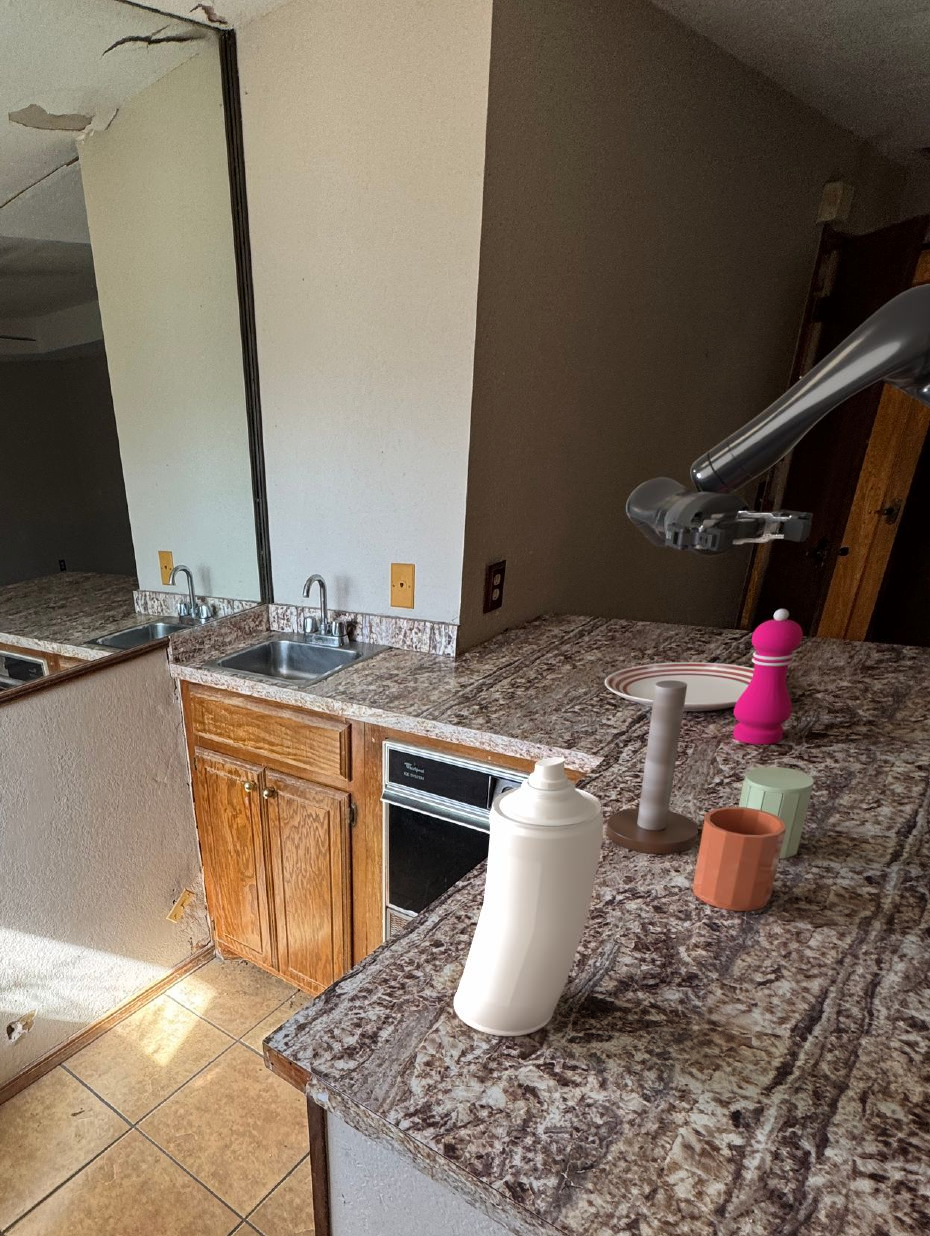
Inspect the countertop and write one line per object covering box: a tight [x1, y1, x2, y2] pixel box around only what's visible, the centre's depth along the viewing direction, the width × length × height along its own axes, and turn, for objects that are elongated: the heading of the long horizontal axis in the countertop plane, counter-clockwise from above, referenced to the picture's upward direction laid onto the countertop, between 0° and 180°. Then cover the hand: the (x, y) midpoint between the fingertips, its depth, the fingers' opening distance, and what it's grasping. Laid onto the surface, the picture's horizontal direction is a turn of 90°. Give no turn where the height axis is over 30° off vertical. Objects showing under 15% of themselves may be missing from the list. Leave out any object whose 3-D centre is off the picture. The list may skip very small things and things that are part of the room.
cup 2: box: [692, 806, 786, 912], centre depth 79 cm, size 7×7×9 cm
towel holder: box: [605, 680, 699, 855], centre depth 90 cm, size 10×10×20 cm
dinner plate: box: [604, 661, 754, 712], centre depth 135 cm, size 27×27×3 cm
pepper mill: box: [732, 608, 804, 745], centre depth 112 cm, size 7×7×20 cm
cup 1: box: [738, 766, 815, 859], centre depth 87 cm, size 6×6×9 cm
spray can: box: [453, 756, 604, 1037], centre depth 66 cm, size 12×11×25 cm
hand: (763, 536), depth 85 cm, fingers open, 8 cm apart
